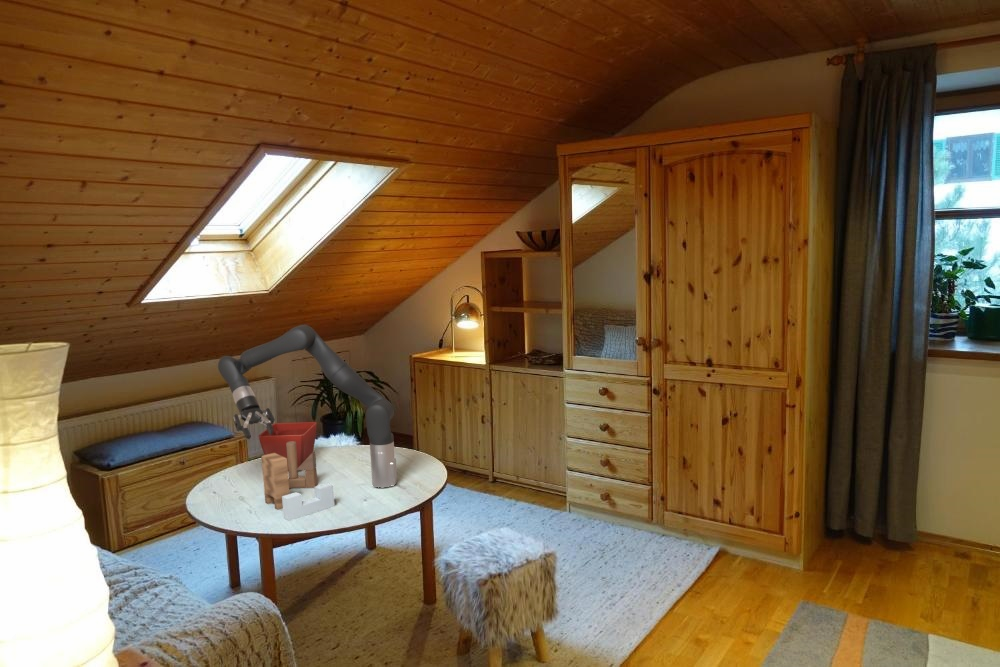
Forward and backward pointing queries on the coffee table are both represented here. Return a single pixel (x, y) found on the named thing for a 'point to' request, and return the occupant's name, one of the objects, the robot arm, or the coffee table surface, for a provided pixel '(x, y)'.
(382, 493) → the coffee table surface
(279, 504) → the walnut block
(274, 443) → the plant pot
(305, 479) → the brown notched handled part
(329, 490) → the white notched u-shaped brace
